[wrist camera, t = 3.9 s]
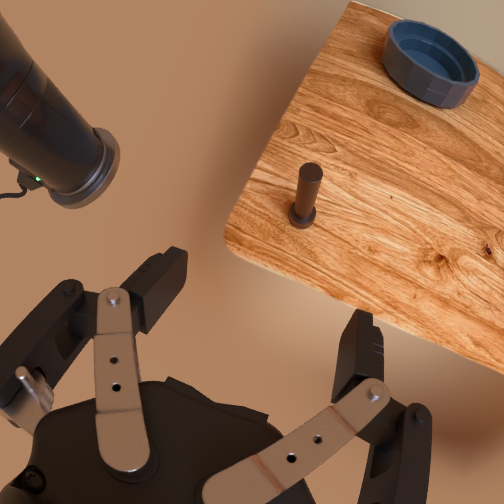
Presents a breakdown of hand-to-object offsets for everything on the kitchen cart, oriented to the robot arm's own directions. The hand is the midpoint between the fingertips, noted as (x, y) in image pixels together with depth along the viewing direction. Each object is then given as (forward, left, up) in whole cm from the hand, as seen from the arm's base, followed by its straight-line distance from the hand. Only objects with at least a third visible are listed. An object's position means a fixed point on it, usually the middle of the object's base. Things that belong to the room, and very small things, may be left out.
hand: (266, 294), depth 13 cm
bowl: (+26, +27, -13) cm, 40 cm away
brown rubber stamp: (+4, +8, -13) cm, 16 cm away
